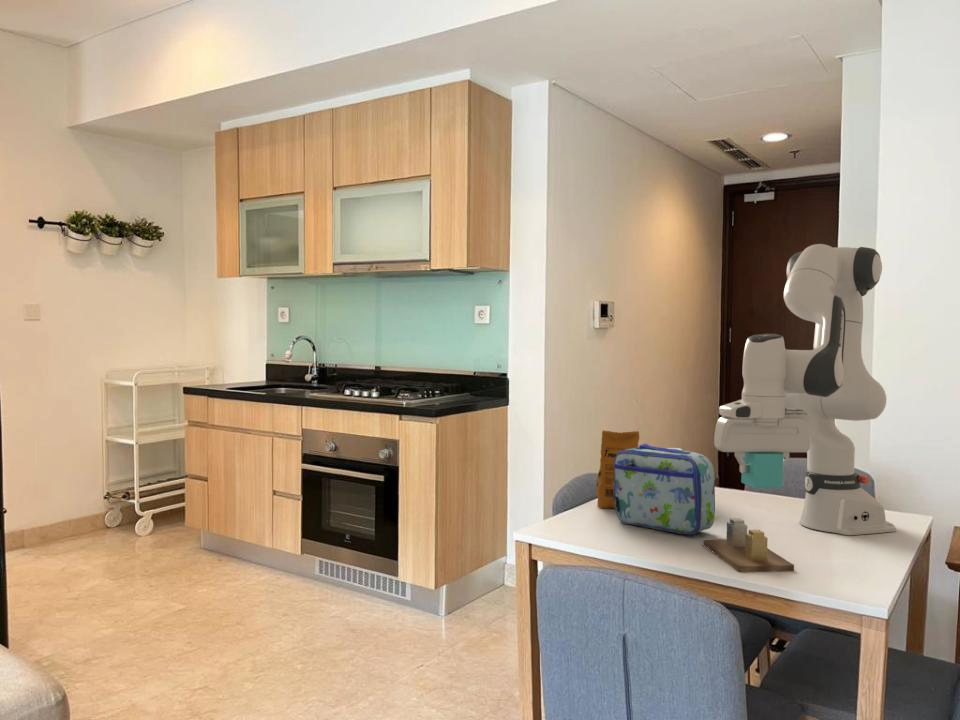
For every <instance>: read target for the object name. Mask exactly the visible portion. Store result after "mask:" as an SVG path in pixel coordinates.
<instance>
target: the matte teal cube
mask: <svg viewBox="0 0 960 720" xmlns="http://www.w3.org/2000/svg"><path fill="white" fill-rule="evenodd" d="M742 458H743V460H744V462H745V464H747V465H750V468H749V470H750V471H749V473H741V478H740V479H741V480H740V481H741V483H742V484H744V485H746V486H749V487H750V488H753V489H783V475H784V472H783V455H782V454H779V452H745V457H742Z"/></svg>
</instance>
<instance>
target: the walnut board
mask: <svg viewBox="0 0 960 720" xmlns="http://www.w3.org/2000/svg"><path fill="white" fill-rule="evenodd" d="M702 541H703V543H702V545H703V544H704V545H705V546H706V548H707V547H708V548H709V549H710V550H709V549H708V548H707V549H708V550H709V551H710V552H712V551H713V552H714V553H713V552H712V553H713V554H715V555H716V556H717V555H718V556H719V558H720V559H721V560H722V561H724V563H726V564H728V565H729V566H730V567H731V568H732V569H734V570H735V571H737V572H738V573H750V572H751V573H754V572H755V573H756V572H757V573H759V572H789V571H790V572H793V571H795V564H793V563H791V562H790V561H788V560H786V559H785V558H783V557H782V556H781V555H779V554H777V553H776V552H774V551H772V549H769V547H767V561H751V560H750V559H748V558H747V557H745V547H738V548H732V547H731V546H730V545H728V544H727V538H724V539H723V538H720V539H703V540H702ZM704 545H703V546H704ZM705 546H704V547H705ZM718 556H717V557H718Z"/></svg>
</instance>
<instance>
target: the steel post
mask: <svg viewBox="0 0 960 720" xmlns="http://www.w3.org/2000/svg"><path fill="white" fill-rule="evenodd" d="M745 534H748V525H747V524H746V523H745V520H743V519H742V518H739V517H737V518H735V517H733V518H729V521H726V539H727V544H728V545H730V546H731V547H732V548H738V547H745Z"/></svg>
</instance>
